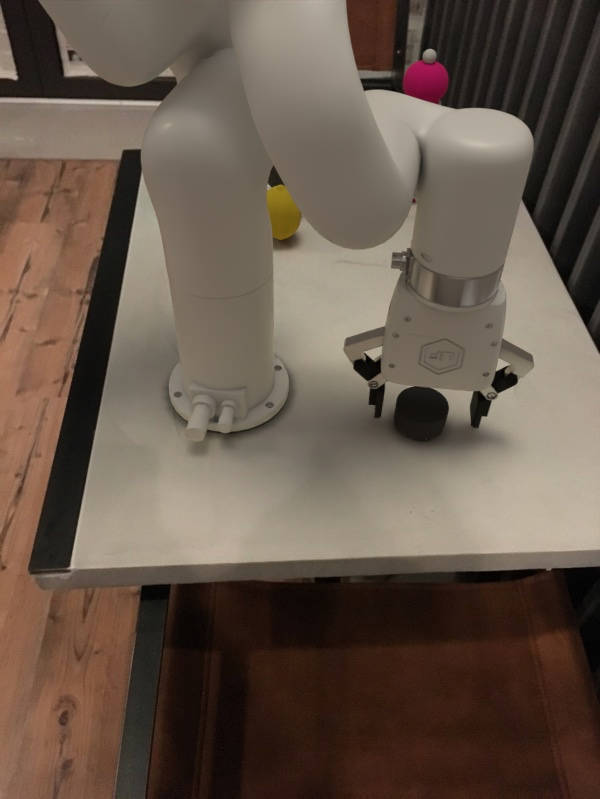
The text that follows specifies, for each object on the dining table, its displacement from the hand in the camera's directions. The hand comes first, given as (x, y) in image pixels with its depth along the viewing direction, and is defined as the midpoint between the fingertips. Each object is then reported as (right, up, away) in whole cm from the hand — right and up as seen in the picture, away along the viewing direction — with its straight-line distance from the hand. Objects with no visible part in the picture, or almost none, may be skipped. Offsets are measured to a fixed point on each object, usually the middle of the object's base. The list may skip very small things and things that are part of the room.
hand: (425, 412), depth 68 cm
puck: (0, -1, +1) cm, 2 cm away
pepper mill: (+4, +32, +34) cm, 47 cm away
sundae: (-15, +28, +29) cm, 43 cm away
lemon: (-15, +23, +24) cm, 37 cm away
